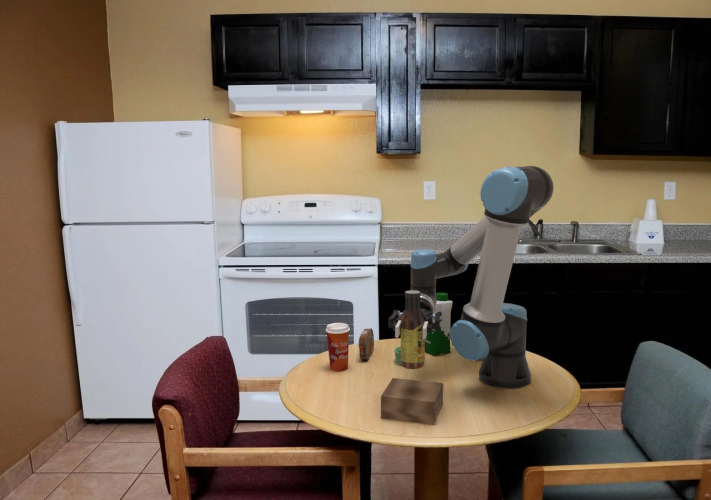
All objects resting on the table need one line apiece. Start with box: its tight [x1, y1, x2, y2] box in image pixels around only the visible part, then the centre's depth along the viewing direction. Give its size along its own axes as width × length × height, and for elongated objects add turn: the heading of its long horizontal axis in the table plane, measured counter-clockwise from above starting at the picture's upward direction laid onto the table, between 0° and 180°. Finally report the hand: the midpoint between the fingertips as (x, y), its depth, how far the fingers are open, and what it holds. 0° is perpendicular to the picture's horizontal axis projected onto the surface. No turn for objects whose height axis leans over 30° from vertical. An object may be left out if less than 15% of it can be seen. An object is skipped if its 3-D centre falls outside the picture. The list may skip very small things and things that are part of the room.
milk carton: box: [425, 292, 453, 357], centre depth 204 cm, size 9×9×20 cm
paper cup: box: [325, 322, 351, 372], centre depth 190 cm, size 8×8×14 cm
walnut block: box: [380, 377, 444, 426], centre depth 158 cm, size 14×13×6 cm
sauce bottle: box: [400, 289, 426, 370], centre depth 155 cm, size 7×6×20 cm
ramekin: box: [393, 345, 403, 367], centre depth 195 cm, size 9×9×4 cm
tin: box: [358, 328, 375, 361], centre depth 202 cm, size 15×3×8 cm, turn 168°
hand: (410, 333), depth 150 cm, fingers closed on sauce bottle, 6 cm apart
